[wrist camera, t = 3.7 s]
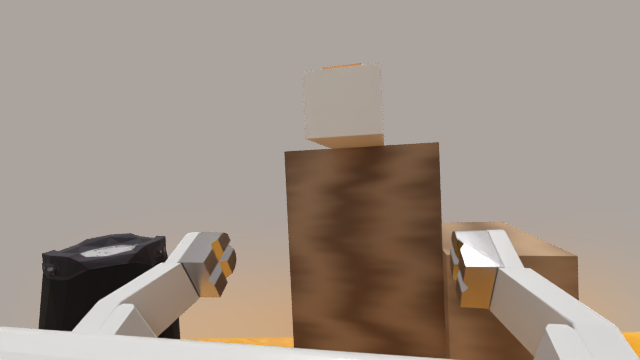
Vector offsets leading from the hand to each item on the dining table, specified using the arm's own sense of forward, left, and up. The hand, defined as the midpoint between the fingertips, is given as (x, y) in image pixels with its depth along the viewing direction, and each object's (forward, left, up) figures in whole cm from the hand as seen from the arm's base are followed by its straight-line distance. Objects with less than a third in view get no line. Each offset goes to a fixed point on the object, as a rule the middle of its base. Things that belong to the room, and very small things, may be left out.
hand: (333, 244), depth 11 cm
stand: (-4, -19, -22) cm, 29 cm away
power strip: (0, -17, +4) cm, 17 cm away
